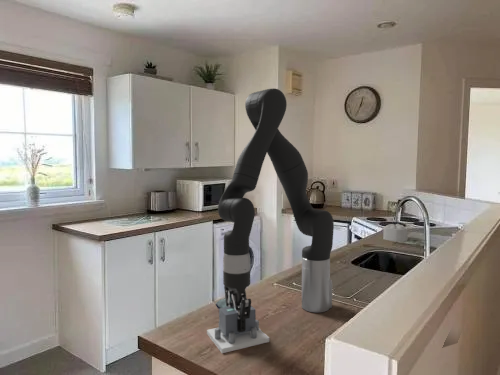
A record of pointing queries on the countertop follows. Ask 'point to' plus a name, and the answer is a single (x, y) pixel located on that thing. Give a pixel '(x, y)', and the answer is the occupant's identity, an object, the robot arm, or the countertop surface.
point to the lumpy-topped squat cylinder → (395, 232)
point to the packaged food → (221, 303)
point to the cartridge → (234, 320)
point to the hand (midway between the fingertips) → (237, 326)
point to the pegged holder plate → (237, 339)
